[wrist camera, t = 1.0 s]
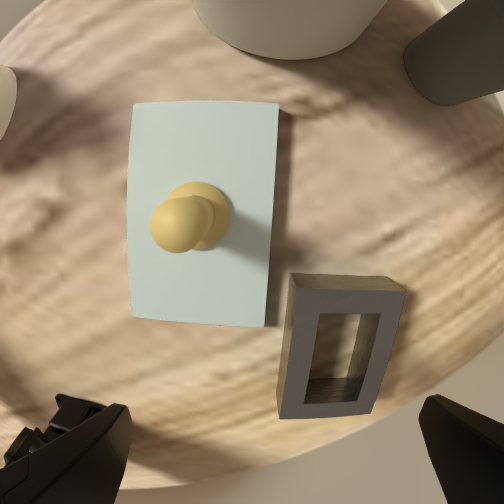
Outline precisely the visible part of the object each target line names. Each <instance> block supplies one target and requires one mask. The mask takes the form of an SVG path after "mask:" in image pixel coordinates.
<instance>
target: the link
mask: <svg viewBox="0 0 504 504" xmlns="http://www.w3.org/2000/svg"><path fill="white" fill-rule="evenodd" d="M405 293H406V290H404V289H403V288H402V287H400V286H399V285H398V284H396V283H395V282H393V281H392V280H391V279H389V278H388V277H381V276H352V275H327V274H305V273H290V279H289V290H288V299H287V309H286V318H285V327H284V336H283V344H282V352H281V361H280V368H279V376H278V384H277V391H276V397H277V405H278V414H279V419H312V418H329V417H342V416H353V415H362V414H370V413H371V411H372V408H373V405H374V403H375V400H376V397H377V394H378V391H379V388H380V386H381V383H382V380H383V376H384V373H385V370H386V367H387V364H388V360H389V357H390V354H391V350H392V347H393V343H394V339H395V336H396V332H397V328H398V324H399V320H400V316H401V311H402V307H403V302H404V298H405ZM320 313H330V314H361V318H360V323H359V327H358V332H357V337H356V341H355V346H354V350H353V354H352V358H351V362H350V366H349V370H348V374H347V378H335V379H309V373H310V368H311V363H312V357H313V351H314V346H315V340H316V334H317V327H318V321H319V314H320Z"/></svg>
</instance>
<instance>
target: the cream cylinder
mask: <svg viewBox="0 0 504 504" xmlns="http://www.w3.org/2000/svg"><path fill="white" fill-rule="evenodd" d="M16 96H17V82H16V76H15V74H14V72H13V71H12V69H10V68H8V67H7V66H4V65H1V64H0V140H1V139H2V137H3V136H4V134H5V132H6V129H7V127H8V125H9V123H10V120H11V117H12V114H13V111H14V107H15V101H16Z"/></svg>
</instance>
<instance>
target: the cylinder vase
mask: <svg viewBox="0 0 504 504" xmlns="http://www.w3.org/2000/svg"><path fill="white" fill-rule="evenodd" d="M192 2H193V5H194V8H195V11H196V13H197V15H198V17H199V18H200V20H201V21H202V23H203V24H204V25H205V26H206V27H207V28H208V29H209V30H210V31H211V32H212V33H213V34H214V35H215V36H217V37H218V38H220V39H221V40H223V41H224V42H226V43H228V44H230V45H231V46H234V47H236V48H238V49H240V50H243V51H246V52H249V53H252V54H255V55H259V56H263V57H268V58H275V59H286V60H302V59H312V58H318V57H322V56H326V55H329V54H332V53H335V52H337V51H340V50H342V49H344V48H345V47H347V46H349V45H350V44H351V43H353V42H354V41H355V40H356V39H357V38H358V37H359V36H360V35H361V34H362V32H363V31H364V30H365V29H366V27H367V26H368V25H369V24H370V22H371V21H372V20H373V19H374V17H375V16H376V15H377V14H378V12H379V11H380V10H381V9H382V8H383V6H384V5H385V4H386V3H387V2H388V0H192Z"/></svg>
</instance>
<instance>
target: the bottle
mask: <svg viewBox="0 0 504 504" xmlns="http://www.w3.org/2000/svg"><path fill="white" fill-rule="evenodd" d="M404 62H405V67H406V70H407V73H408V75H409V77H410V79H411V81H412V83H413V84H414V86H415V87H416V88H417V90H418V91H419V92H420V93H421V94H422V95H423V96H424V97H426V98H427V99H428V100H430V101H431V102H433V103H435V104H438V105H441V106H451V105H455V104H459V103H462V102H465V101H468V100H472V99H475V98H478V97H482V96H485V95H489V94H492V93H496V92H499V91H503V90H504V0H465V1H464V2H463V3H461V4H460V5H458V6H457V7H456V8H454V9H453V10H452V11H450V12H449V13H447V14H446V15H445V16H443V17H442V18H441V19H440V20H438V21H437V22H436V23H434V24H433V25H432V26H430V27H429V28H428V29H427V30H425V31H424V32H423V33H422V34H420V35H419V36H418V37H417V38H415V39H414V40H413V41H412V42H411V43H410V44H409V45H408V46H407V48H406V50H405V54H404Z"/></svg>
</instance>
